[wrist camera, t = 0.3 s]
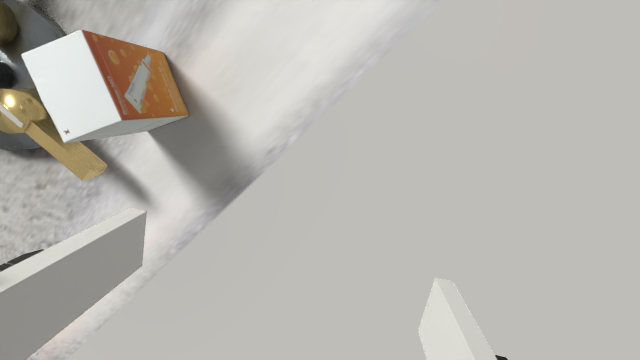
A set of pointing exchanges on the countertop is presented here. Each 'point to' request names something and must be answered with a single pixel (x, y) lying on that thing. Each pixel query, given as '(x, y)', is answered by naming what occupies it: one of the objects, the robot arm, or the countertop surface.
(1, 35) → the knob
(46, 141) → the knob
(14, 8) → the tribrach plate
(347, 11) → the countertop surface
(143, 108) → the small box
